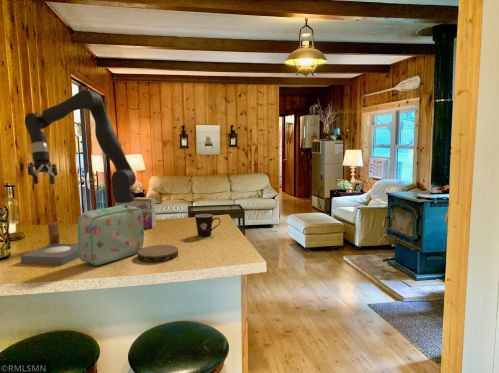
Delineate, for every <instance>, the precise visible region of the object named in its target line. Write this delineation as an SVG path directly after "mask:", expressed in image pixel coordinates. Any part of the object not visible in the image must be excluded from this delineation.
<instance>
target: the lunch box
mask: <svg viewBox="0 0 499 373" xmlns="http://www.w3.org/2000/svg"><path fill="white" fill-rule="evenodd" d="M144 229H145V228H144V218H143V212H142V210H141V209H139V208H136V207H131V206H128V204H122V205H119V206H115V205H114V206H109V207H106V208H99V209H93V210H92V209H91V210H87V211H84V212H83V213H81V215H79V218H78V219H77V244H78V254H79V260H81V262H83V263H84V262H85V263H89V264H91V265H93V266H102V265H104V264H107V263H110V262H114V261H116V260H117V261H118V260H123V259H125V258H127V257H130V256H133V255H136V254H138V250H140V249H142V248H143V246H144V236H145V235H144V234H145V233H144V232H145V230H144Z"/></svg>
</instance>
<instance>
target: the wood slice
mask: <svg viewBox="0 0 499 373" xmlns="http://www.w3.org/2000/svg"><path fill="white" fill-rule="evenodd" d="M178 257H179V250H178V247H177V246H176V245H171V244H155V245H154V244H153V245H148V246H144V247H142V249H140V250H138V253H137V260H138V261H139V262H142V263H148V264H150V263H151V264H152V263H153V264H155V263H156V264H157V263H158V264H159V263H165V262H169V261H172V260H174V259H176V258H178Z"/></svg>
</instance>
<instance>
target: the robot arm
mask: <svg viewBox="0 0 499 373" xmlns="http://www.w3.org/2000/svg"><path fill="white" fill-rule="evenodd" d="M83 109H85V110H89V113H91V116H92V118H93V120H94V134H95V138H96V141H97V143H98V145H99V148H100V149H101V150H102V152H103V153H104V154H105V156H106V157H107V158H108V159H109V160H110V161H111V162H112V164H113V166H114V168H115V171H114V172H113V173H112V176H111V181H110V182H111V190H112V197H113V199H114V206H119V205H122V204H128V206H131V207H135V205H134V198H135V195H134V194H132V193H131V188H132V187H133V186H134V185H135V183H136V179H137V178H136V174H135V171H134V169H133V168H132V167H131V165H130V163H129V161H128V160H127V157H126V156H125V153H124V151H123V148H122V146H121V143H120V140H119V138H118V137H117V133H116V132H115V129H114V127H113V125H112V123H111V120H110V119H109V115H108V114H107V110H106V107H105V105H104V101H103V98H102V96H101V95H100V94H99V93H98V92H97V91H93V90H89V89H82V90H80V91H78V92H77V93H75V94H74V95H73V96H71V97H69V98H68V99H65V100H64V101H62V102H60V103H58V104H55V105H53V106H50V107H48V108H45V109H43V111H42V112H41V114H38V113H34V112H29V113H27V114H25V117H24V124H25V127H26V129H27V132H28V135H29V136H30V146H31V158H32V162H29V163H27V164H26V165H27V175H28V176H31V177H32V182H33V184H34V185H38V184H39V177H38V176H39V175H38V174H39V173H45V174H46V175H47V176H48V178H49V183H50V184H49V185H54V184H55V182H56V181H55V180H56V179H55V177H56V176H58V168H57V164H55V163H53V164H51V163H50V161H51V158H50V152H49V151H50V150H49V146H48V139H47V135H46V133H45V132H44V131H42V130H44V129H46V128H48V127H49V126H51V125H52V124H53V123H55V122H58V121H59V120H63V119H64V118H65V117H67V116H68V115H69V114H71V113H72V112H74V111H78V110H83Z"/></svg>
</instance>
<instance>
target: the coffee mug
mask: <svg viewBox="0 0 499 373" xmlns="http://www.w3.org/2000/svg"><path fill="white" fill-rule="evenodd" d="M213 216H214V215H213V214H209V213H201V214H195V216H194V217H195V224H196V230H197V231H196V232H197V237H199V238H207V237H208V236H209V237H211V236H212V232H213V230H214V229H216V228H217V227H218V226H219V225H221V219H220V218H218V217H214V218H213ZM214 220H218V221H219V222H218V224H217V225H215V226H214V227H213V222H214Z"/></svg>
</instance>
